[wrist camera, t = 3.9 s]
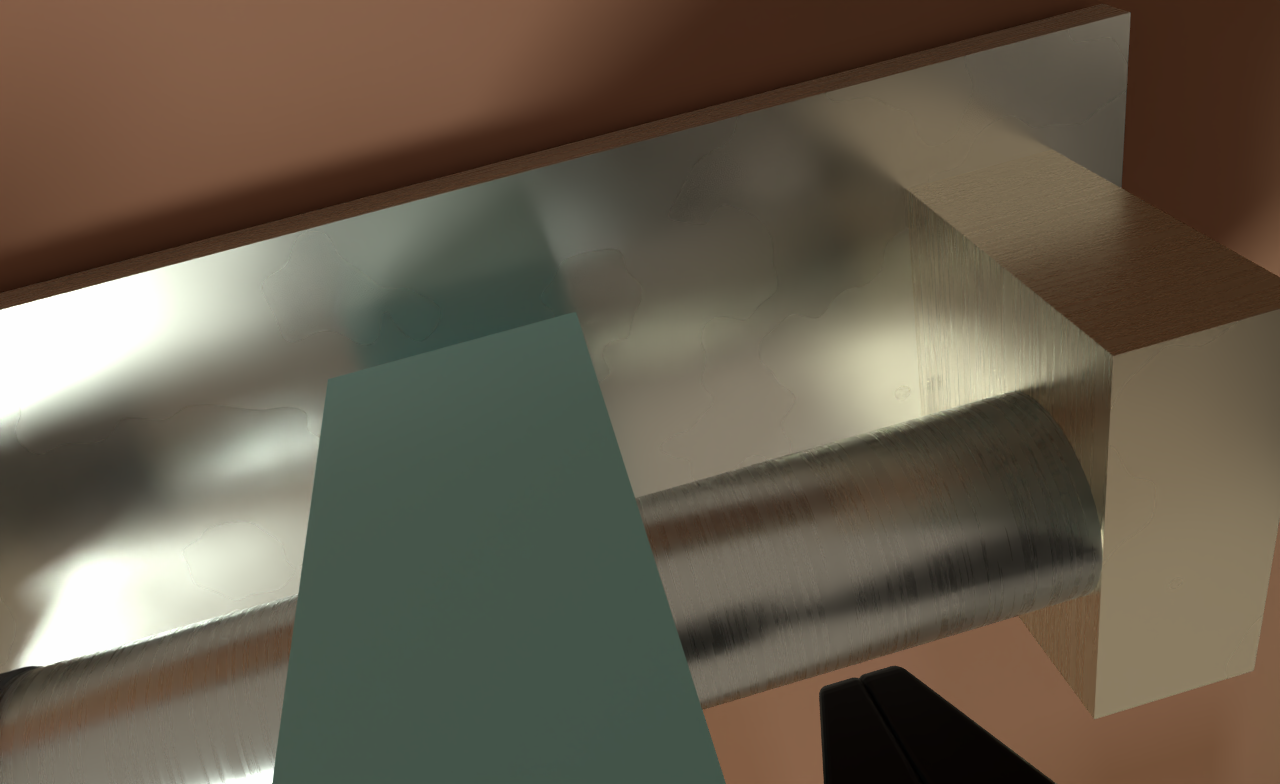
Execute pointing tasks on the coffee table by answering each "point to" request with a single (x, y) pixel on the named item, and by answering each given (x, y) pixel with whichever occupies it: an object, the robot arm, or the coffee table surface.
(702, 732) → the collar
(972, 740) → the robot arm
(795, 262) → the pipe rig
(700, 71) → the coffee table surface
